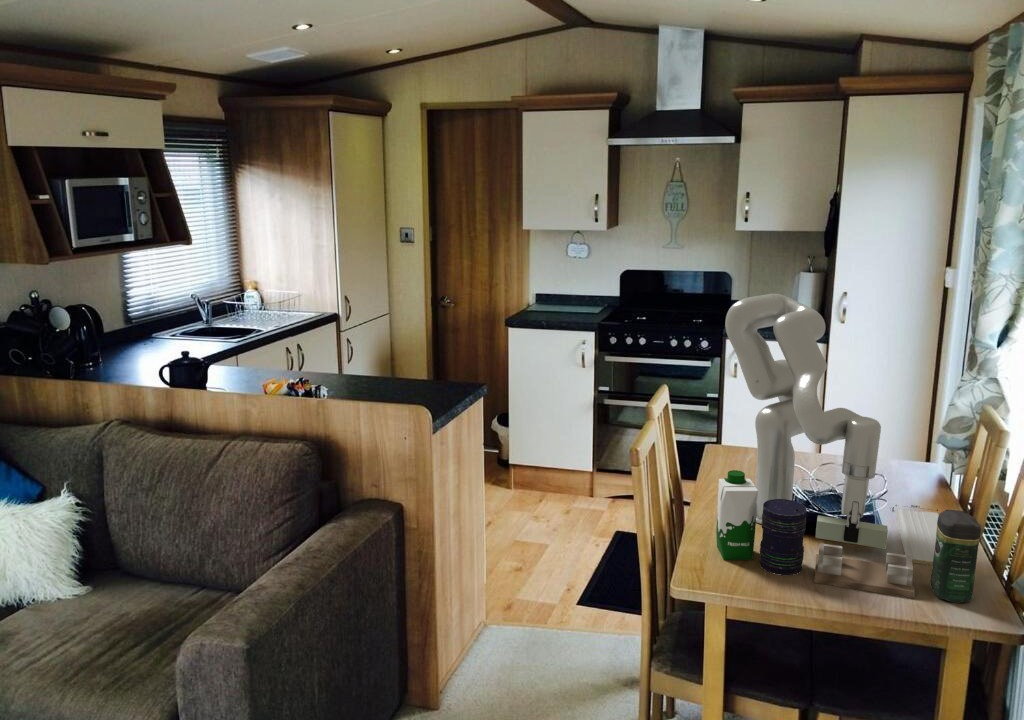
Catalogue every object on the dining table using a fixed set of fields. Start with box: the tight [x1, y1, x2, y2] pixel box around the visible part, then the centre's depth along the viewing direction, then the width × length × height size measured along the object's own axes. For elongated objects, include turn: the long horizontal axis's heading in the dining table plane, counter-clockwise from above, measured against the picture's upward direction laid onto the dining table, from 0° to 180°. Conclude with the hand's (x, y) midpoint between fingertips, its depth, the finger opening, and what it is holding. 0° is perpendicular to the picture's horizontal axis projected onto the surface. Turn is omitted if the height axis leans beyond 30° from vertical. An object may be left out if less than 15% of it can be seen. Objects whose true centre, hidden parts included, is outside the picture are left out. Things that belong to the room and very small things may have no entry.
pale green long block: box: [815, 514, 889, 550], centre depth 210 cm, size 16×4×4 cm, turn 69°
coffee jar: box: [929, 508, 982, 604], centre depth 186 cm, size 10×8×19 cm
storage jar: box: [759, 499, 808, 576], centre depth 200 cm, size 10×10×15 cm
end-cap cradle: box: [814, 543, 915, 599], centre depth 195 cm, size 21×12×6 cm, turn 69°
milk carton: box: [715, 469, 758, 561], centre depth 206 cm, size 9×9×20 cm
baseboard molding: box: [890, 504, 939, 566], centre depth 216 cm, size 31×3×12 cm
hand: (850, 536), depth 210 cm, fingers closed on pale green long block, 3 cm apart
